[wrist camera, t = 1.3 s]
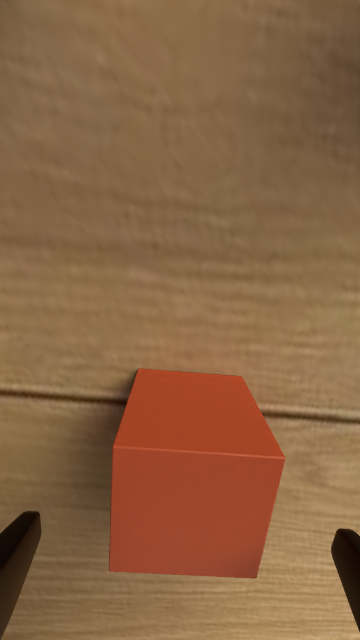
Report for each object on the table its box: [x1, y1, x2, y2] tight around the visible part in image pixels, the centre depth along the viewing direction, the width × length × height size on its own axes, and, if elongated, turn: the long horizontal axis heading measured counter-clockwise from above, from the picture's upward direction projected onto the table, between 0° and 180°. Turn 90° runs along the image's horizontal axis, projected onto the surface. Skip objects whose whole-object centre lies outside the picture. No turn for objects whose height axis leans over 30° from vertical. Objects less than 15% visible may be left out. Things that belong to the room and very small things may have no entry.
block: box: [109, 369, 285, 578], centre depth 10 cm, size 5×5×5 cm
